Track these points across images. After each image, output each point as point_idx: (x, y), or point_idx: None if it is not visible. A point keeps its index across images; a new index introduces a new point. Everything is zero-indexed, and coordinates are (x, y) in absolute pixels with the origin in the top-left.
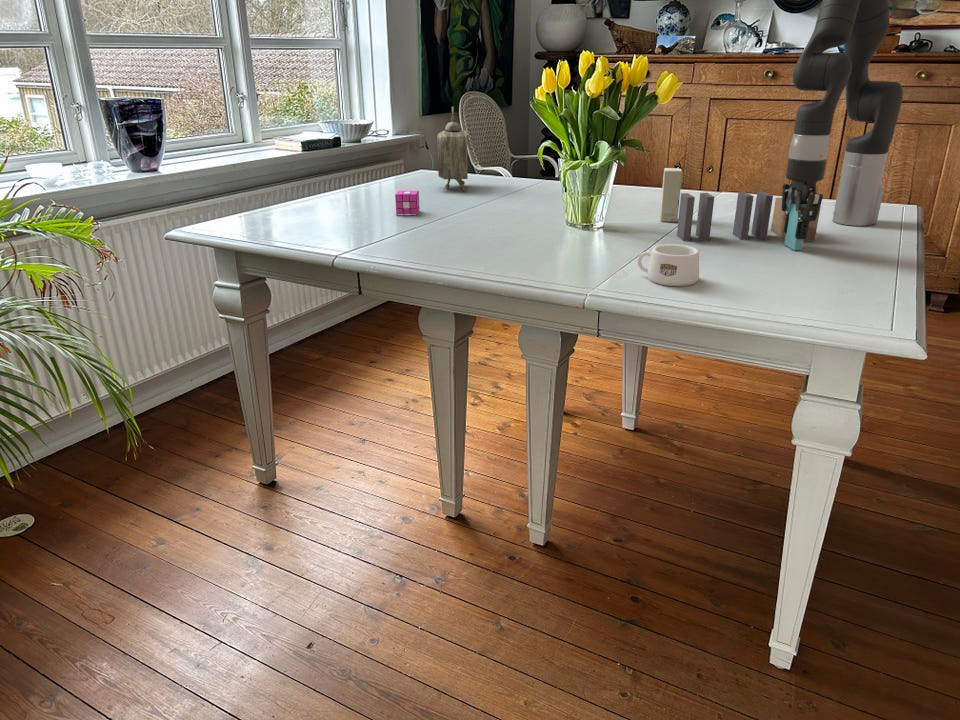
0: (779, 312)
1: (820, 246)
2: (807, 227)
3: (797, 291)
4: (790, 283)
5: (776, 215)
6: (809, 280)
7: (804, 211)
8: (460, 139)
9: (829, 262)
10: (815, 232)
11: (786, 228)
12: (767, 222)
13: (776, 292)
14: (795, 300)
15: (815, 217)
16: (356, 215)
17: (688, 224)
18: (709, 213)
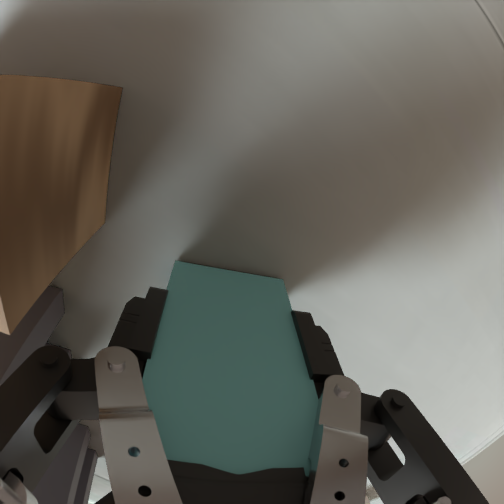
0: (482, 439)
1: (237, 131)
2: (338, 365)
3: (474, 414)
4: (453, 415)
5: None
6: (469, 385)
7: (369, 475)
8: None
9: (438, 274)
10: (105, 88)
11: None
12: (31, 339)
13: (455, 435)
14: (483, 422)
15: (412, 410)
16: None
17: (88, 487)
18: (72, 492)
